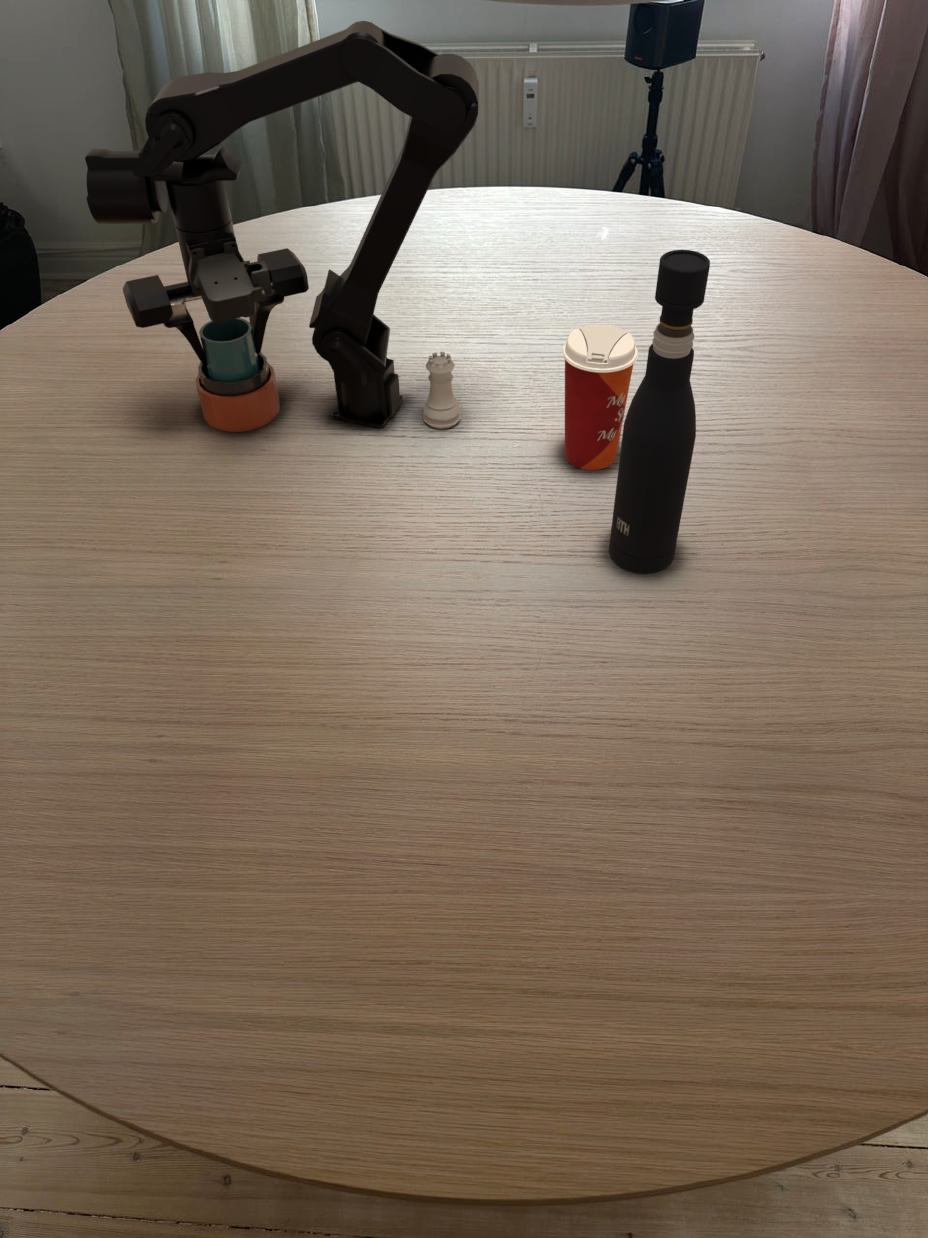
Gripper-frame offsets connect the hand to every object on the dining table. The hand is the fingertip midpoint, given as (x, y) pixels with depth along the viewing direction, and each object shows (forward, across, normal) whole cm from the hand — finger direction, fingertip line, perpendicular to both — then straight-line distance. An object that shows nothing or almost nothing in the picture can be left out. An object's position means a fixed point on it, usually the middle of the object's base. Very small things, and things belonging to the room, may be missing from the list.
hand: (231, 357), depth 111 cm
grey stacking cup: (+7, 0, 0) cm, 7 cm away
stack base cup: (+7, 0, 0) cm, 7 cm away
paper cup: (+7, +33, -25) cm, 42 cm away
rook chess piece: (+7, +20, -12) cm, 25 cm away
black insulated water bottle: (+7, +29, -42) cm, 51 cm away
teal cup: (+4, 0, 0) cm, 4 cm away
